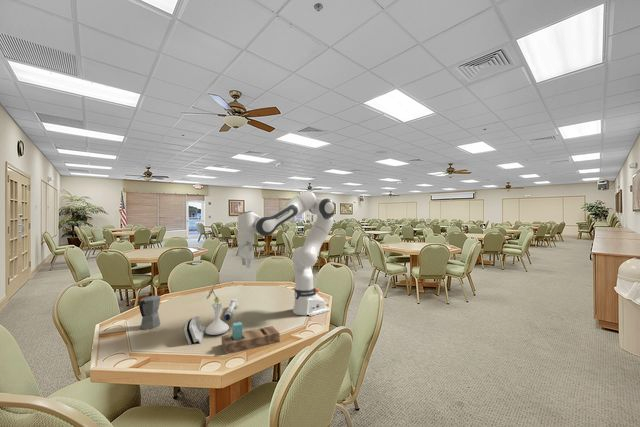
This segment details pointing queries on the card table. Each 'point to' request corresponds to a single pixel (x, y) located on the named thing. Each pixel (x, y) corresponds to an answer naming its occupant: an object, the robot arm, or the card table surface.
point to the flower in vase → (216, 318)
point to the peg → (236, 331)
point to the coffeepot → (150, 312)
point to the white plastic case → (194, 330)
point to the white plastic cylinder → (231, 309)
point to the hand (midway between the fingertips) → (246, 266)
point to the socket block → (250, 339)
